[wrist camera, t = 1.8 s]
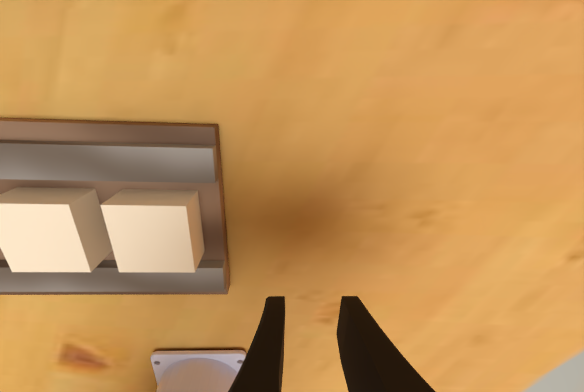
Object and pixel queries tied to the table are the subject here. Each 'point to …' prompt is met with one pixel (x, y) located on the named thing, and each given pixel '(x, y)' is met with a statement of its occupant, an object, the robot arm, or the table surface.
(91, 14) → the table surface
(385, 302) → the table surface
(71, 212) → the chip
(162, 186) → the slot board
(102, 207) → the chip
